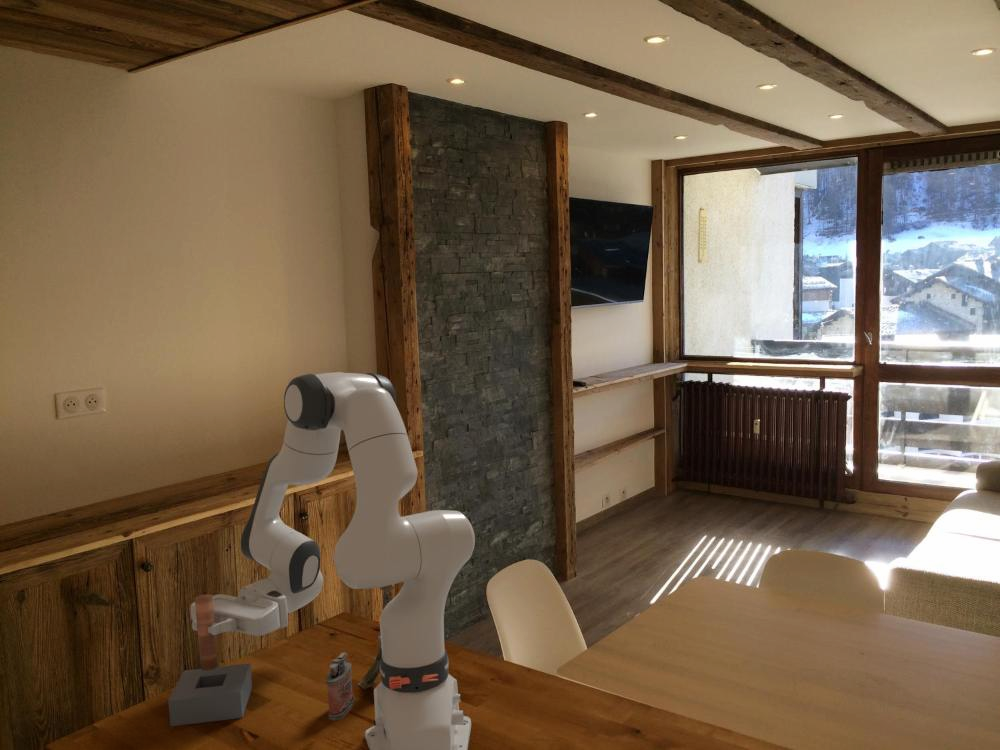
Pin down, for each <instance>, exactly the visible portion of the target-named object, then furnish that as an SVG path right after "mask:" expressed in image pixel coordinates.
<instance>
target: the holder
mask: <svg viewBox="0 0 1000 750" xmlns="http://www.w3.org/2000/svg"><path fill="white" fill-rule="evenodd" d="M177 681H178V682H177V683H176V685H175V687H174V688H173V691H172V693H171V694H170V696H169V698H168V701H167V703H168V710H169V711H168V712H169V713H168V714H169V722H170V723H169V724H170V727H177V726H184V725H194V724H202V723H210V722H211V723H212V722H217V721H218V722H220V721H226V720H234V719H235V720H236V719H243V718H244V714H245V712H246V708H247V705H248V702H249V699H250V695H251V693H252V689H253V678H252V667H251V663H250V662H249V663H248V662H247V663H240V664H233V665H232V664H231V665H223V666H218V667H217V668H215V669H213V670H208V671H204V670H201V668H196V669H195V668H194V669H187V670H183V672H182V673H181V675H180V678H179V679H178V680H177Z"/></svg>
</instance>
